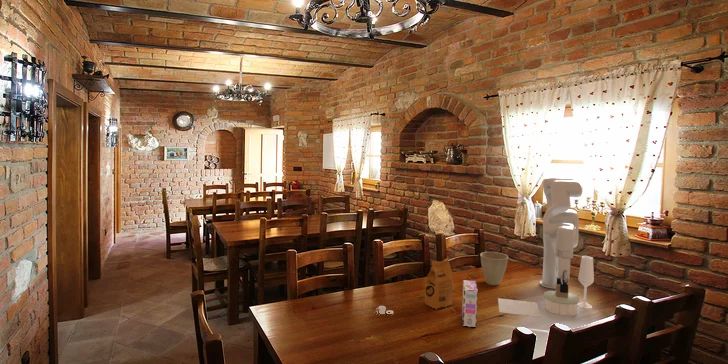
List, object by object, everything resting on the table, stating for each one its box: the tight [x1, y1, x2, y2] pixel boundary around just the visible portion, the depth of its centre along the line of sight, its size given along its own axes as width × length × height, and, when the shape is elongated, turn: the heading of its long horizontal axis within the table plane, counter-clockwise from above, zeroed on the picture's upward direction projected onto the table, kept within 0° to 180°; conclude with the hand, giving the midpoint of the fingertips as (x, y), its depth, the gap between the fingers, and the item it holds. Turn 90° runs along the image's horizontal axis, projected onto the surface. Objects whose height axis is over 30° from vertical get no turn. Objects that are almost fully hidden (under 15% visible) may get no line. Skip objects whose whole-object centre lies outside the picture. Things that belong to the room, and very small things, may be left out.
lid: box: [543, 284, 581, 304], centre depth 198 cm, size 15×15×6 cm
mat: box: [497, 297, 542, 318], centre depth 201 cm, size 18×18×1 cm
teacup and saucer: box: [375, 305, 394, 315], centre depth 192 cm, size 9×8×4 cm
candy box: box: [461, 279, 479, 328], centre depth 185 cm, size 14×6×16 cm, turn 168°
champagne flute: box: [577, 255, 595, 309], centre depth 204 cm, size 7×7×24 cm
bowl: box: [545, 298, 578, 317], centre depth 199 cm, size 13×13×6 cm
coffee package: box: [424, 258, 454, 310], centre depth 204 cm, size 10×12×22 cm
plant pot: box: [479, 251, 509, 286], centre depth 236 cm, size 15×15×16 cm
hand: (561, 288), depth 198 cm, fingers open, 9 cm apart
